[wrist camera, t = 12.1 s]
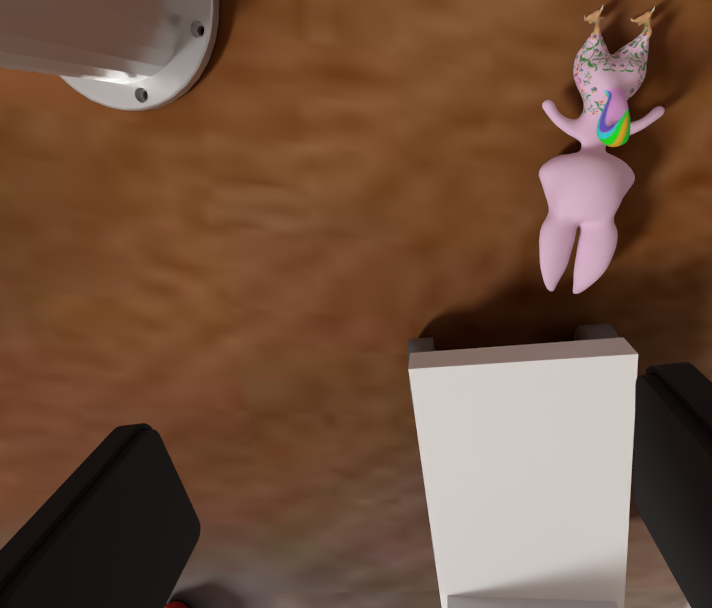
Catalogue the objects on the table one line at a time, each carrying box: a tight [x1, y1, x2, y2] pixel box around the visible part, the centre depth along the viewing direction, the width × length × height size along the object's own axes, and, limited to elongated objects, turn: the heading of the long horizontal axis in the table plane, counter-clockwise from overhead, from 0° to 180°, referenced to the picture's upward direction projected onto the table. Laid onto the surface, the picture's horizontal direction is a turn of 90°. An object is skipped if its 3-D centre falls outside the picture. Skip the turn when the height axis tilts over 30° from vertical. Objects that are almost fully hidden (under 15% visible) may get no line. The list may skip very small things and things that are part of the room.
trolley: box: [408, 323, 638, 608], centre depth 26 cm, size 20×13×18 cm, turn 10°
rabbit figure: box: [539, 4, 665, 294], centre depth 24 cm, size 6×6×15 cm
